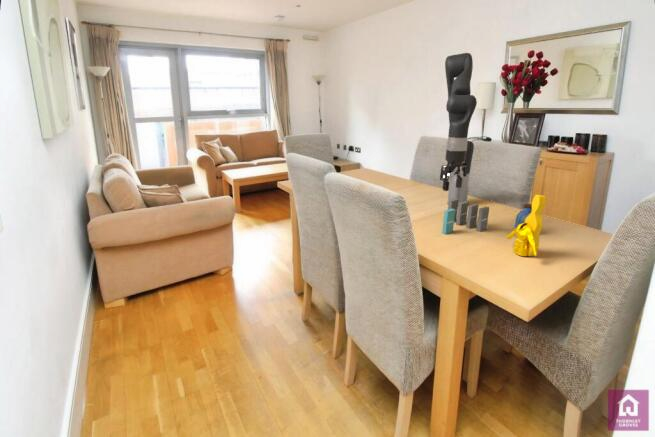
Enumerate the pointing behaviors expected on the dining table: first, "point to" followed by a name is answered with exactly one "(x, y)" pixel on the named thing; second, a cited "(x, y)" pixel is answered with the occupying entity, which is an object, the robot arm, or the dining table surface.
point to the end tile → (448, 221)
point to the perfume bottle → (523, 214)
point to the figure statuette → (529, 230)
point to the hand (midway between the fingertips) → (452, 189)
